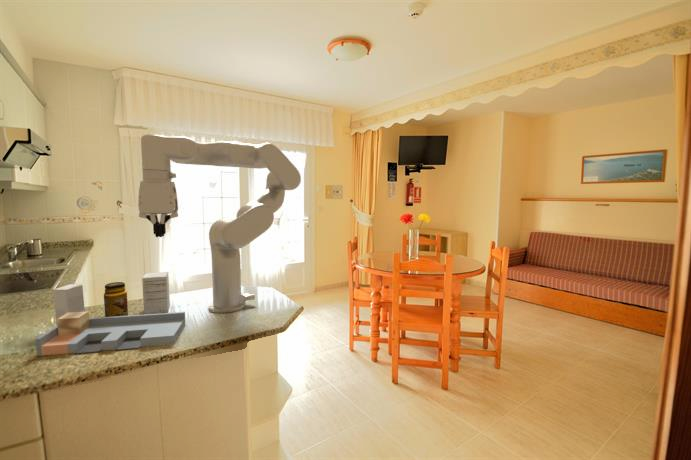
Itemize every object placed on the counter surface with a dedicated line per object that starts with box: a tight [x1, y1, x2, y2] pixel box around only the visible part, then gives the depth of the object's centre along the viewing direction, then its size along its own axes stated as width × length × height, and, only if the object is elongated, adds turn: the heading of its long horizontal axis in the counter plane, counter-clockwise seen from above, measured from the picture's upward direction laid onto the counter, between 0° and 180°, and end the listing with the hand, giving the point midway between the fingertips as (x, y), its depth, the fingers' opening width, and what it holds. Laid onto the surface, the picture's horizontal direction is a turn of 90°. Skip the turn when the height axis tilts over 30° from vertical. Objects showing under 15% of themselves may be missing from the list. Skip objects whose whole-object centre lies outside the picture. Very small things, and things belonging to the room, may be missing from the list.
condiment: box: [103, 281, 130, 317], centre depth 104 cm, size 7×8×12 cm
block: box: [57, 310, 90, 335], centre depth 91 cm, size 5×5×4 cm
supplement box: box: [141, 271, 171, 315], centre depth 114 cm, size 7×7×13 cm
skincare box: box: [52, 283, 85, 326], centre depth 100 cm, size 6×4×12 cm
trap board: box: [35, 311, 186, 357], centre depth 91 cm, size 31×14×4 cm, turn 104°
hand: (159, 236), depth 102 cm, fingers closed
